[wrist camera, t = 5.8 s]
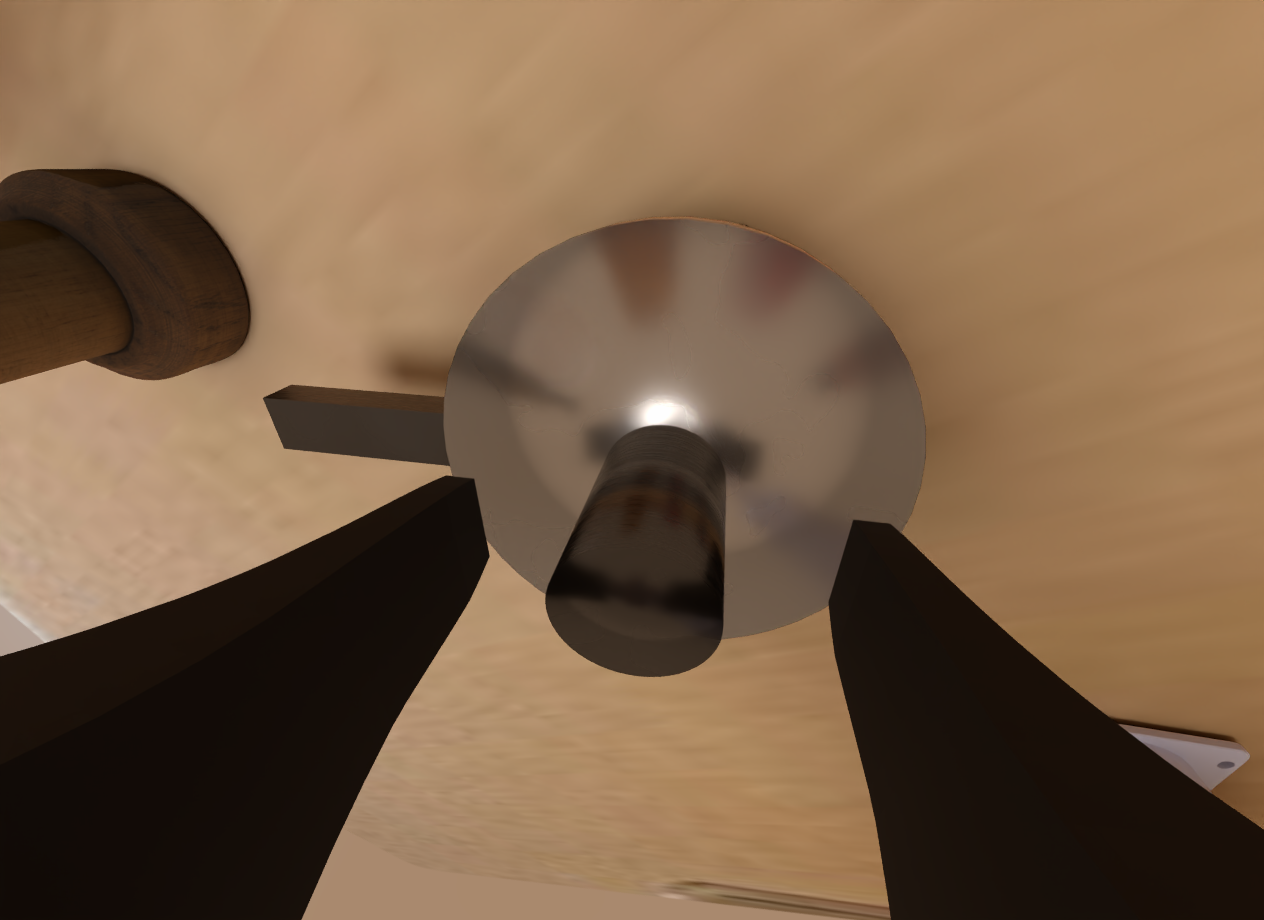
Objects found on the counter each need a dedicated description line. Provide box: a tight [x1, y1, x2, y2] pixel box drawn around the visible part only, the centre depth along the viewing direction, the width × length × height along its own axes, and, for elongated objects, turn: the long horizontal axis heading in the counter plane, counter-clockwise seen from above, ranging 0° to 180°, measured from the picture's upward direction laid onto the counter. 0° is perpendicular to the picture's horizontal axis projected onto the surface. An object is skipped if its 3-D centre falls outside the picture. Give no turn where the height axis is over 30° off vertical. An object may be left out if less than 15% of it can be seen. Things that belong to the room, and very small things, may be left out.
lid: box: [443, 216, 926, 677], centre depth 10 cm, size 11×11×6 cm
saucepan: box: [263, 224, 750, 466], centre depth 14 cm, size 10×16×5 cm, turn 90°
